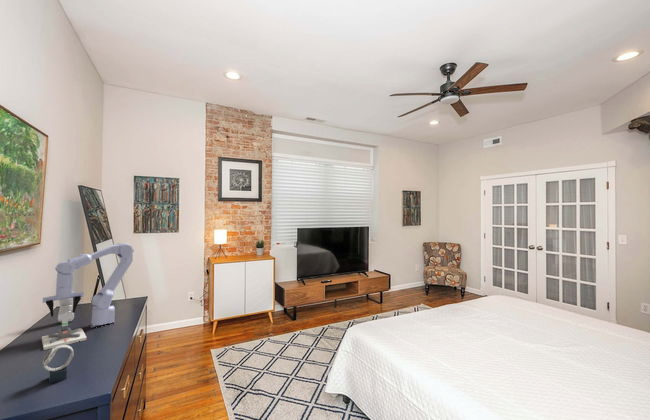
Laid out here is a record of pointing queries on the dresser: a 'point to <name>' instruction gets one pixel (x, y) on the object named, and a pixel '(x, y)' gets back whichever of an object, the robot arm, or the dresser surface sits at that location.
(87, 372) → the dresser surface
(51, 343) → the stand base
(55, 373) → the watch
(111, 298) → the robot arm
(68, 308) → the silver twisted sculpture
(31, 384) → the dresser surface
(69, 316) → the column
